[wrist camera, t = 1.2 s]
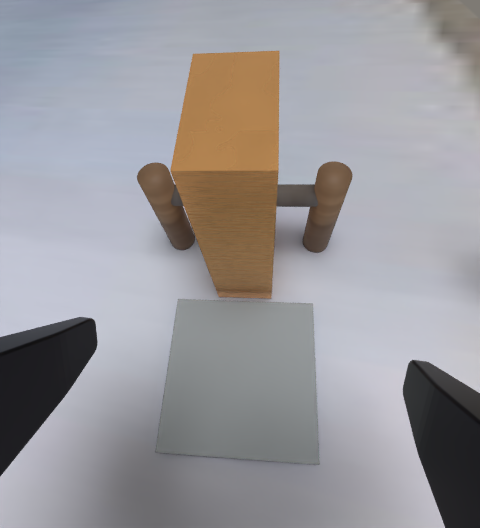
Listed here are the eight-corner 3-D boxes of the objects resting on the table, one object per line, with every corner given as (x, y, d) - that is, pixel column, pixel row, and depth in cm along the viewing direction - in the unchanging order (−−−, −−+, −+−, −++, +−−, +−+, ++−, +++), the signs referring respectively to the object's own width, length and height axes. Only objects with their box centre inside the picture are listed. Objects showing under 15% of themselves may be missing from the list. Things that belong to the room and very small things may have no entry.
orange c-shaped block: (271, 298, 24) (278, 170, 12) (219, 296, 24) (170, 170, 12) (272, 220, 27) (279, 50, 14) (225, 219, 27) (193, 53, 15)
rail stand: (328, 252, 25) (353, 188, 18) (169, 249, 27) (134, 188, 19) (327, 231, 26) (350, 161, 19) (173, 229, 27) (140, 162, 20)
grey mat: (317, 463, 19) (319, 465, 19) (158, 451, 20) (155, 452, 20) (311, 306, 24) (312, 303, 23) (179, 301, 25) (177, 299, 24)
